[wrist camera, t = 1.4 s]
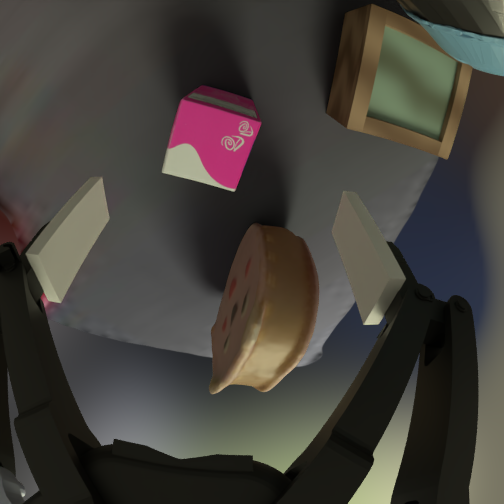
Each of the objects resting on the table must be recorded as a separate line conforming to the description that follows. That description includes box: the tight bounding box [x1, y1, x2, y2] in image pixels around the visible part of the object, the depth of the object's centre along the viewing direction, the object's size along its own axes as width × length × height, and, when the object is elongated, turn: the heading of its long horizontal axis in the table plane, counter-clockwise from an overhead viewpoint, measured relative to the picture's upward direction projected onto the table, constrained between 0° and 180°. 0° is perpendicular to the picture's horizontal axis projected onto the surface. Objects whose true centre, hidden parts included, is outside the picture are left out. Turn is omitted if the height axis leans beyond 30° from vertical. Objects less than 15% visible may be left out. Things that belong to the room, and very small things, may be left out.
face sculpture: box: [209, 223, 319, 394], centre depth 33 cm, size 20×7×17 cm, turn 162°
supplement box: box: [162, 85, 261, 191], centre depth 23 cm, size 6×6×12 cm
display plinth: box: [326, 4, 472, 159], centre depth 21 cm, size 12×12×7 cm
